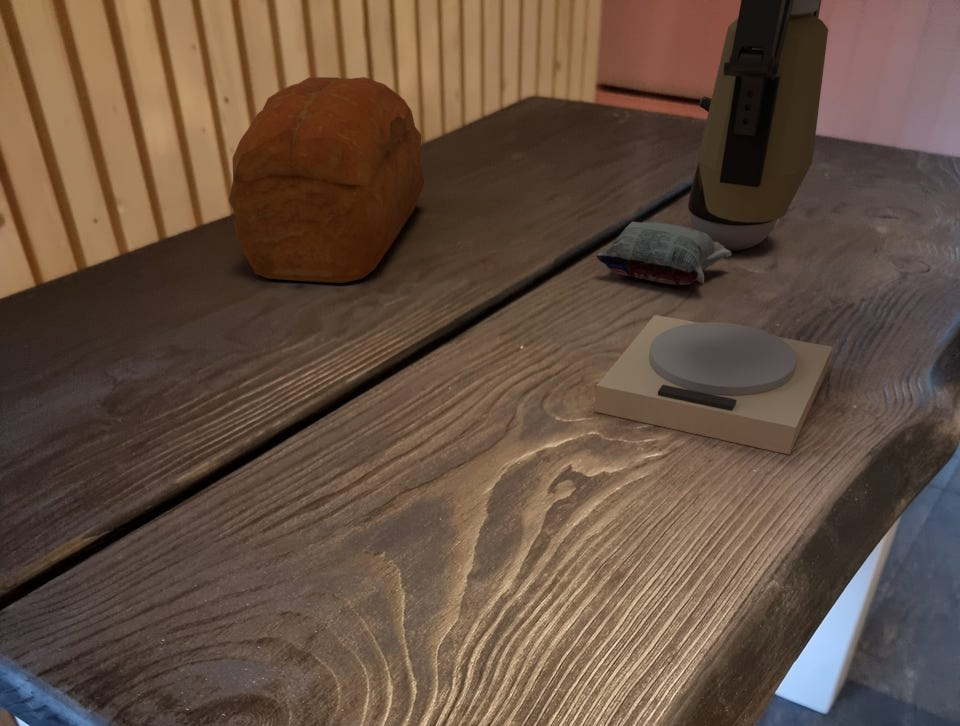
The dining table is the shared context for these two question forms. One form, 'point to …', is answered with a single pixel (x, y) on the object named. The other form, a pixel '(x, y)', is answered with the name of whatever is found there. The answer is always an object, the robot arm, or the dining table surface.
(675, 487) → the dining table surface
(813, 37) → the squeeze bottle
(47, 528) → the dining table surface
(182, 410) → the dining table surface
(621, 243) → the packaged food
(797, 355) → the scale
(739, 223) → the pump dispenser
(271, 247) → the bread
